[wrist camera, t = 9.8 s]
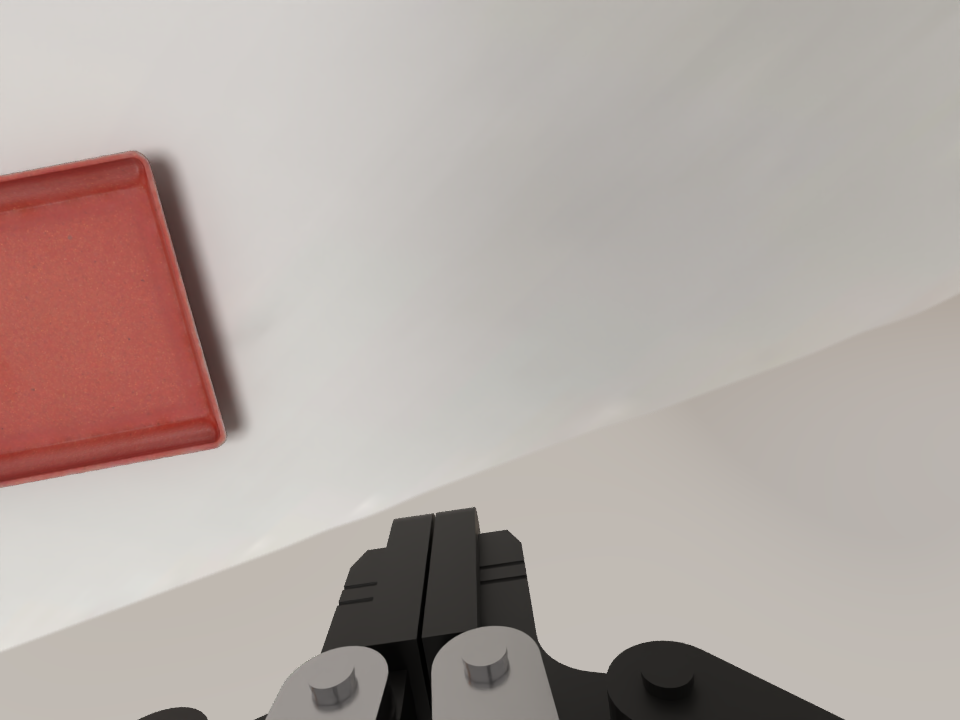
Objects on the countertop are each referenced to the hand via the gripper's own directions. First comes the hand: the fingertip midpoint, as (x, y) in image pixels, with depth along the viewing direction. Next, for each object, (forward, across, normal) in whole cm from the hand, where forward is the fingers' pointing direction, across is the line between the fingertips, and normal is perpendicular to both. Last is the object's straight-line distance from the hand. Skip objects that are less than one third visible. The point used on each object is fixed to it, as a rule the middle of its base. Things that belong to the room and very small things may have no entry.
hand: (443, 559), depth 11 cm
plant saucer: (+30, +25, -4) cm, 39 cm away
